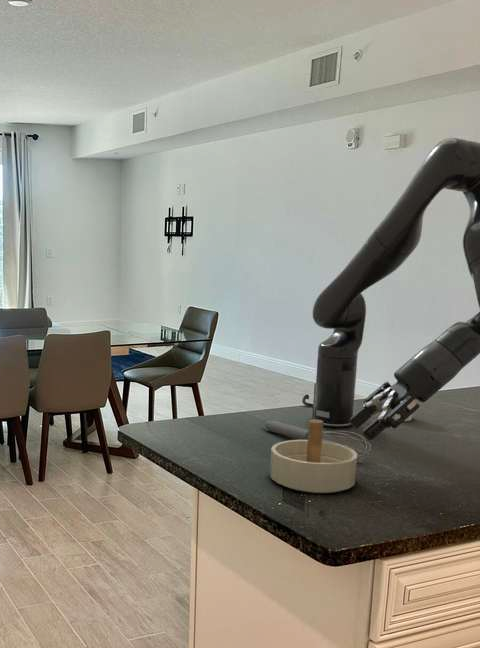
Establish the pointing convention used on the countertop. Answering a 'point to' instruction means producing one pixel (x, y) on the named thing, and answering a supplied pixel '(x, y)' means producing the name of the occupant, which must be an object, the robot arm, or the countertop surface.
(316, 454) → the tan wooden post
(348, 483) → the bowl
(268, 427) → the kitchen whisk
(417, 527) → the countertop surface
